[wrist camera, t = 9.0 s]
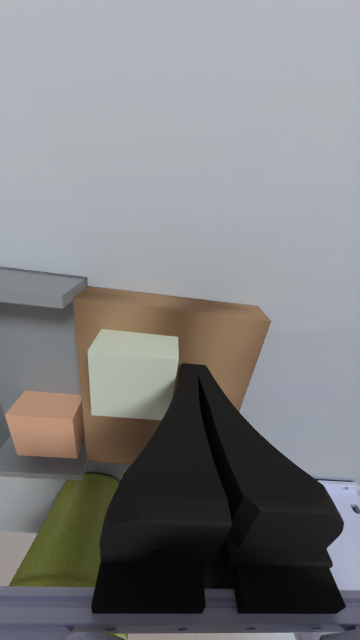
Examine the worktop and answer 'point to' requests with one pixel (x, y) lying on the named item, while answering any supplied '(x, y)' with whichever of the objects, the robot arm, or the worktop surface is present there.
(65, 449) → the tile terracotta
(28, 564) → the plant pot
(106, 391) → the tile sage
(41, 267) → the worktop surface
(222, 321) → the board
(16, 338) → the tray
